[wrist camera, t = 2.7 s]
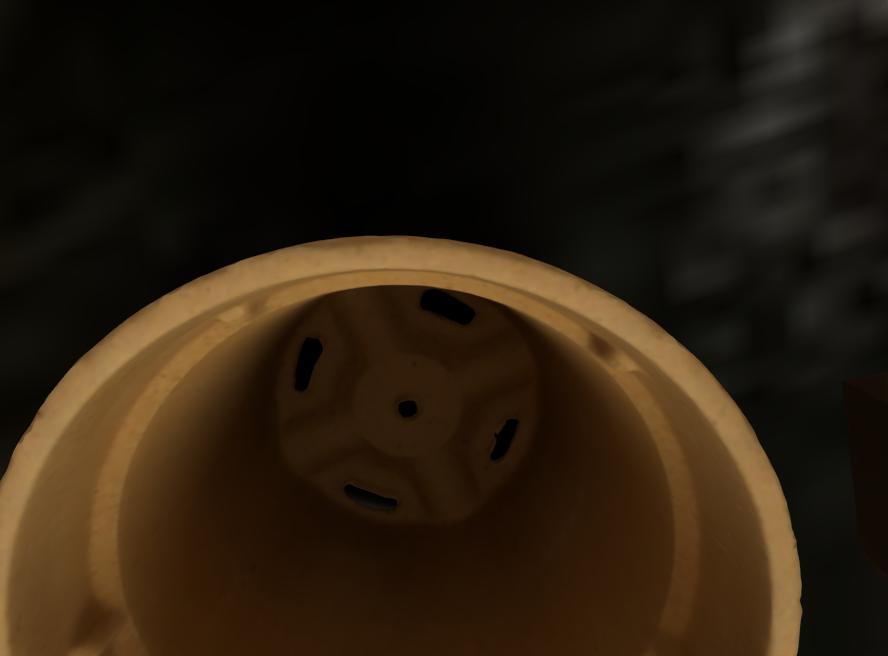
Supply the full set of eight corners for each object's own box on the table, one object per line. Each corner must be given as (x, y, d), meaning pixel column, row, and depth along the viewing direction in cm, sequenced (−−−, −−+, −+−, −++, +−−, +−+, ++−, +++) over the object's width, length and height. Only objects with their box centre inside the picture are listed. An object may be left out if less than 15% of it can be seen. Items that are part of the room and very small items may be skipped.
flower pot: (625, 179, 16) (845, 221, 7) (616, 576, 18) (776, 950, 10) (179, 194, 16) (-107, 254, 7) (225, 592, 18) (46, 983, 10)
